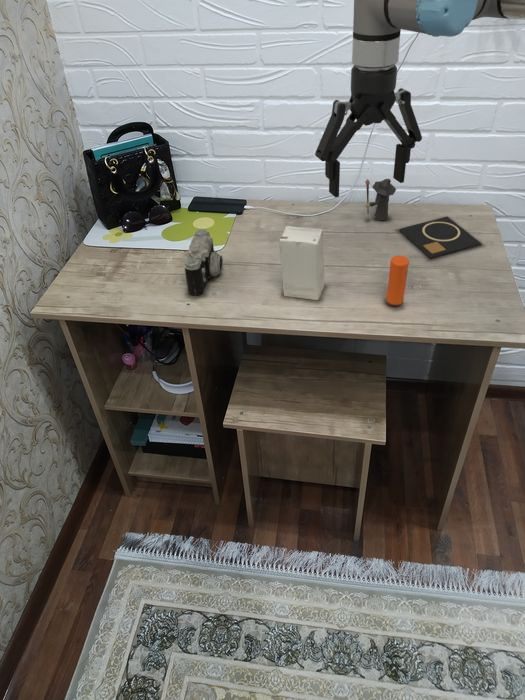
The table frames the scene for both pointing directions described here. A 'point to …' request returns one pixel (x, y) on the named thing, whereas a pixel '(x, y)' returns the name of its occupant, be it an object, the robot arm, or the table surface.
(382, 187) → the wizard figurine
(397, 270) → the cylinder
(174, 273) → the table surface
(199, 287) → the camera
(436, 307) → the table surface
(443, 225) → the black square board
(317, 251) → the cosmetic box
